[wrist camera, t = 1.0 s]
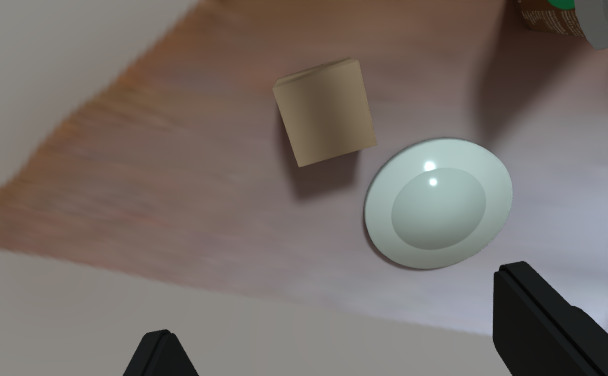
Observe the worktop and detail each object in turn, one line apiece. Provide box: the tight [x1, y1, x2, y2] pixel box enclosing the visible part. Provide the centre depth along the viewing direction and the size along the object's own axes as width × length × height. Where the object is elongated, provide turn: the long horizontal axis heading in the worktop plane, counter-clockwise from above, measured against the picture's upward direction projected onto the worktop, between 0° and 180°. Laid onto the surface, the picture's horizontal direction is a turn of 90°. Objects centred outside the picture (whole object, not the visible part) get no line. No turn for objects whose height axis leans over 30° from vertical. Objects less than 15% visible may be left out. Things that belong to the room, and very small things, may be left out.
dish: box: [364, 137, 513, 269], centre depth 32 cm, size 14×14×1 cm
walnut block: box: [272, 56, 377, 167], centre depth 25 cm, size 6×6×6 cm
